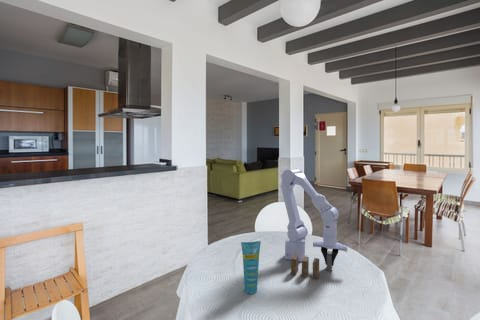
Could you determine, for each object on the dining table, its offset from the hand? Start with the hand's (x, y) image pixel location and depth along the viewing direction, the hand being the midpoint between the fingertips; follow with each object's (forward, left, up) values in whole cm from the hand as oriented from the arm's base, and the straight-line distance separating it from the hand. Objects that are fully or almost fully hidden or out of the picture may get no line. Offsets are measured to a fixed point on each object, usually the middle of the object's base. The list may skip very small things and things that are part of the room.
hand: (329, 264), depth 114 cm
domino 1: (-14, -10, -2) cm, 17 cm away
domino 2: (-9, -10, -2) cm, 14 cm away
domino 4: (0, 0, -2) cm, 2 cm away
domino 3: (-4, -10, -2) cm, 11 cm away
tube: (-26, -31, -2) cm, 40 cm away
